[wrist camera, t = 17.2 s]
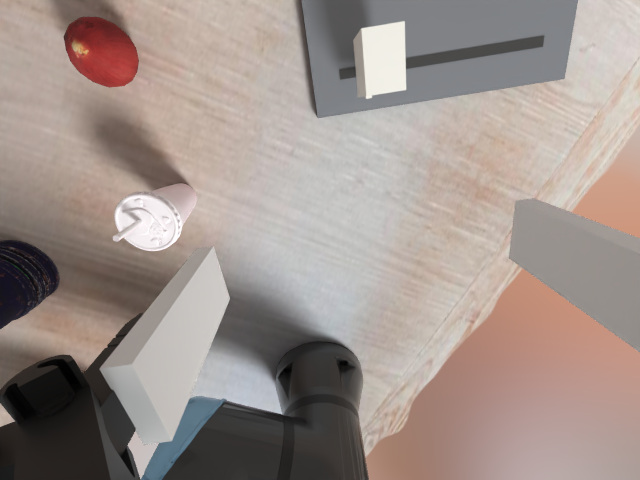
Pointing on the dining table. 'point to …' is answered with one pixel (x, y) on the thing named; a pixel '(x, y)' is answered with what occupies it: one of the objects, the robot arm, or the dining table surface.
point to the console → (438, 47)
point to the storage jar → (23, 279)
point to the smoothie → (154, 216)
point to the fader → (380, 59)
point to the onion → (101, 51)
